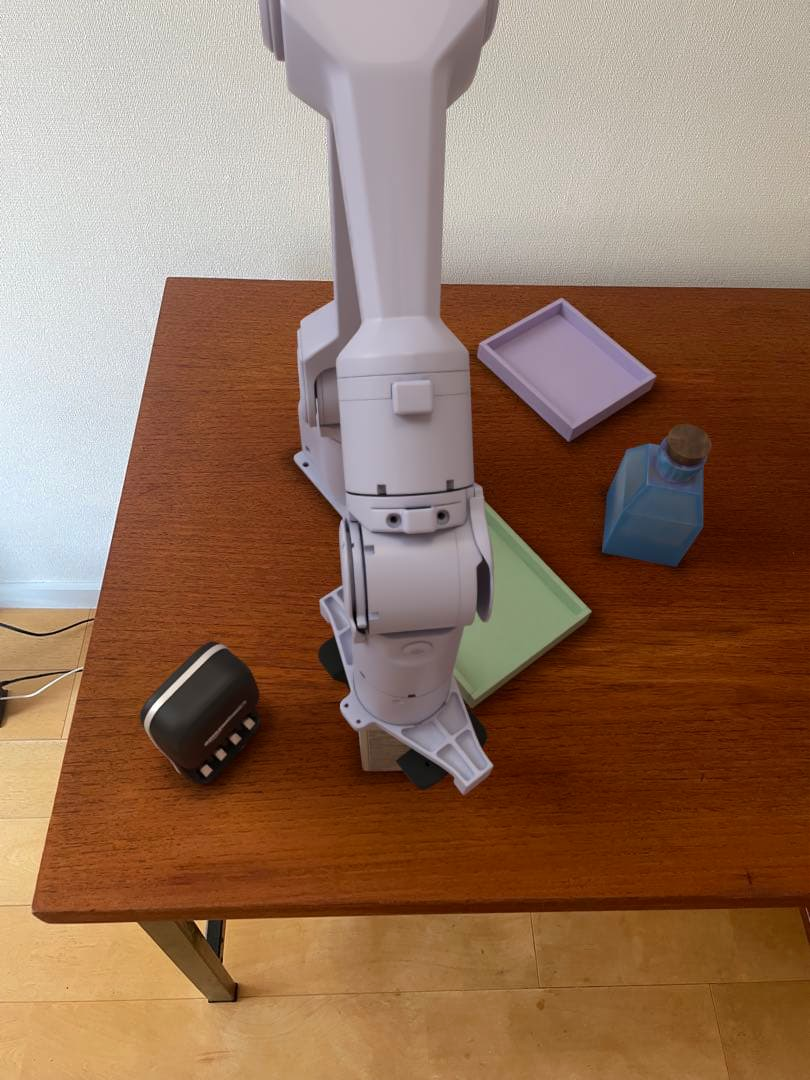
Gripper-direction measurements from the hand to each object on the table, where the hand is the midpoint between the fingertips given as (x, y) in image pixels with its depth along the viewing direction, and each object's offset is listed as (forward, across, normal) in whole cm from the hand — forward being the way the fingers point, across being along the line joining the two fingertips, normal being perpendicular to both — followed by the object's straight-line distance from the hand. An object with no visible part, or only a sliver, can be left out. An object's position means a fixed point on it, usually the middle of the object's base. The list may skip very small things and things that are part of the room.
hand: (396, 728), depth 55 cm
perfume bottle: (+3, -2, +28) cm, 28 cm away
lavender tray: (+3, -19, +35) cm, 40 cm away
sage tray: (+3, -6, +12) cm, 14 cm away
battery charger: (+3, -7, -10) cm, 13 cm away
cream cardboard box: (+3, 0, 0) cm, 3 cm away
